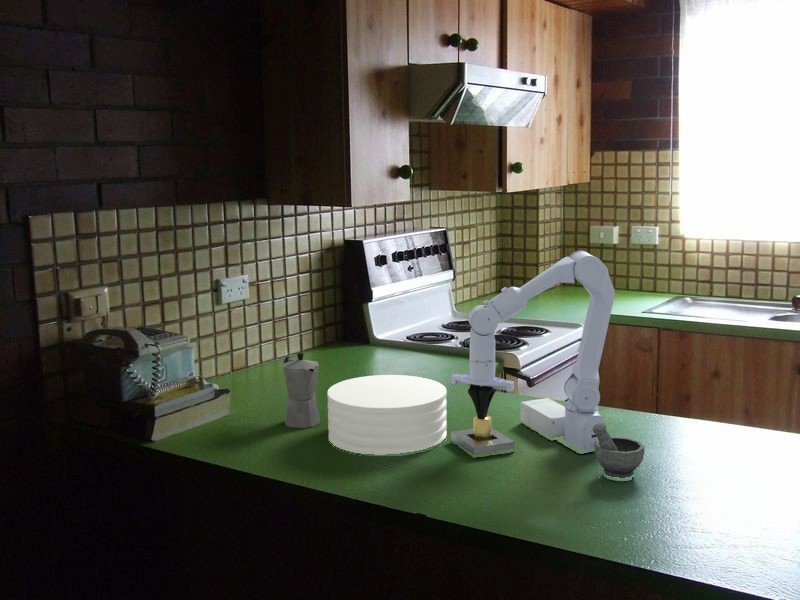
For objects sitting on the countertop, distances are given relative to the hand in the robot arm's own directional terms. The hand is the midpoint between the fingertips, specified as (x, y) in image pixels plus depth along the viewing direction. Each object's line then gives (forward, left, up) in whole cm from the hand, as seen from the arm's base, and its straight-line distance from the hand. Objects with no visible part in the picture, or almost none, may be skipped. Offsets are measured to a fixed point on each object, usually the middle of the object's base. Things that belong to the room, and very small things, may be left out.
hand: (482, 417), depth 196 cm
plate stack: (+16, +17, -7) cm, 24 cm away
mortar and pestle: (-27, -17, -7) cm, 33 cm away
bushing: (0, 0, -7) cm, 7 cm away
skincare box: (+11, -21, -4) cm, 24 cm away
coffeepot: (+35, +33, -7) cm, 49 cm away
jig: (0, 0, -7) cm, 7 cm away
